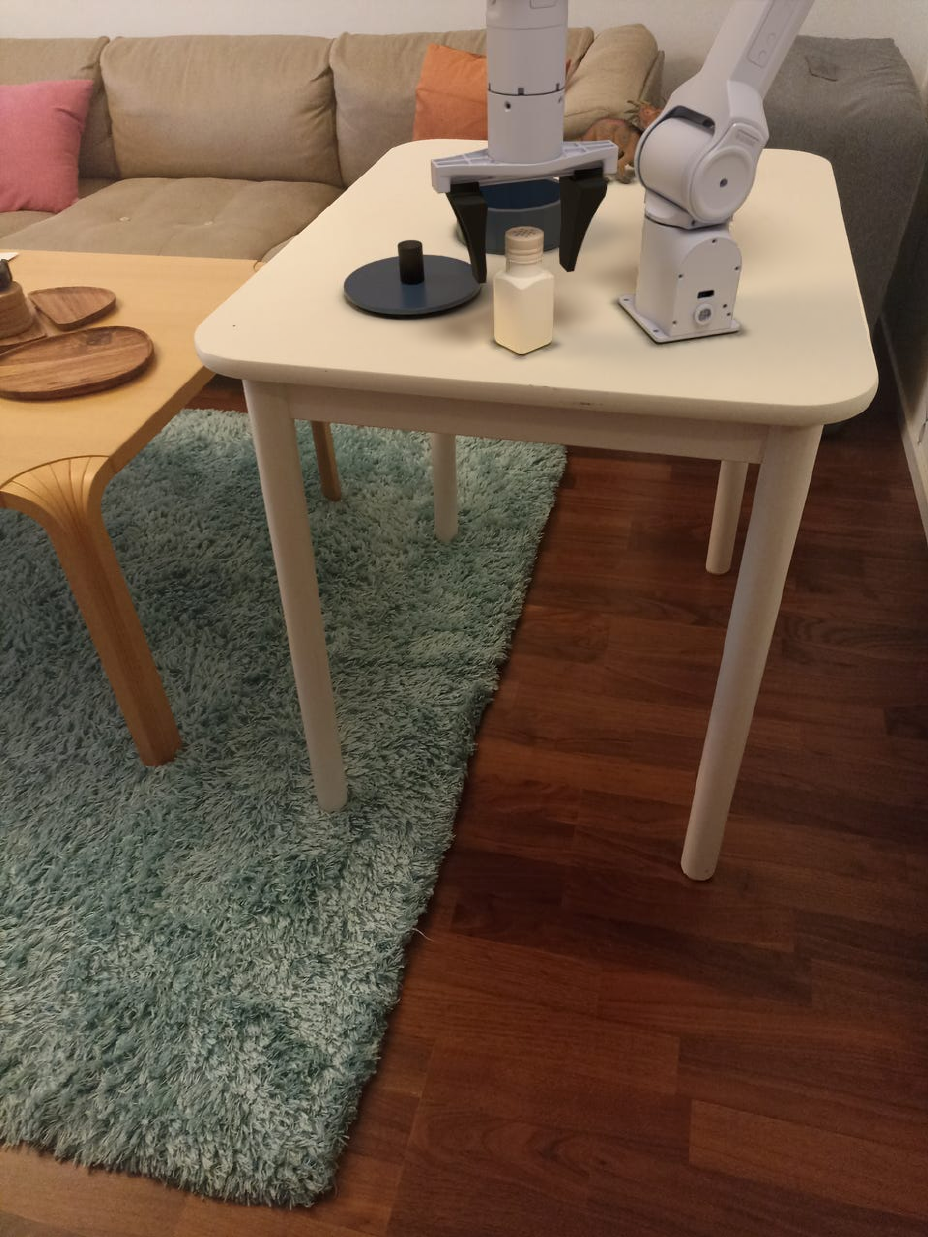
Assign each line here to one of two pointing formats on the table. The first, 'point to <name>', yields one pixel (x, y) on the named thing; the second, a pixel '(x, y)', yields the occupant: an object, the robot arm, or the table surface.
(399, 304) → the lid
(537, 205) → the pot
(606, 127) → the dinosaur figurine
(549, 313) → the salt shaker
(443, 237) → the table surface
